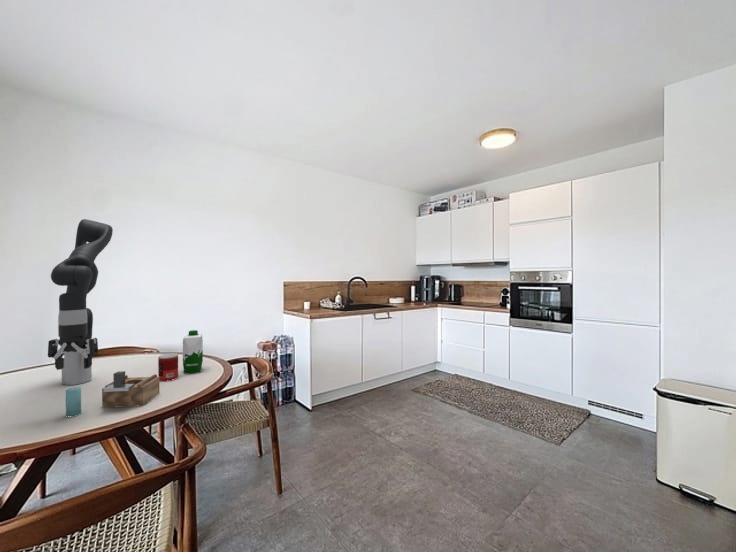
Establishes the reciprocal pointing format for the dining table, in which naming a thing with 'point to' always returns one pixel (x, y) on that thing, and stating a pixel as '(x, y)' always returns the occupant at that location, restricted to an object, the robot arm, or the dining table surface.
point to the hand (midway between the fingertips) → (73, 368)
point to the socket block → (132, 392)
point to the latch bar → (119, 383)
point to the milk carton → (192, 352)
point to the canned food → (168, 366)
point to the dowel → (73, 401)
